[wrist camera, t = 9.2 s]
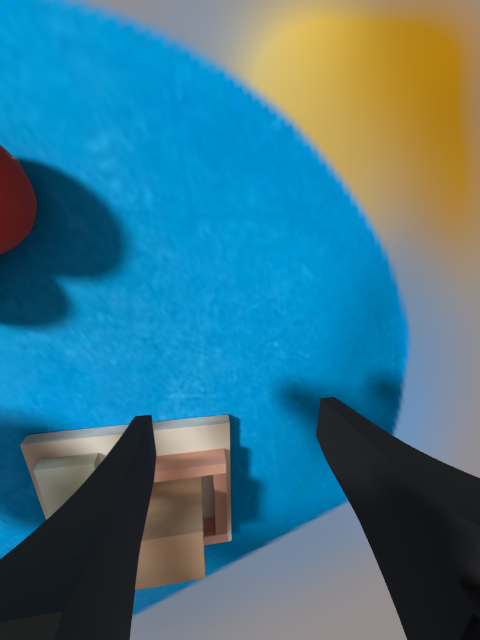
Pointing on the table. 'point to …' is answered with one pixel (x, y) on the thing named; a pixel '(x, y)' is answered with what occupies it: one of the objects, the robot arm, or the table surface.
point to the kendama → (15, 202)
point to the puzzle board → (171, 463)
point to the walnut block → (172, 535)
